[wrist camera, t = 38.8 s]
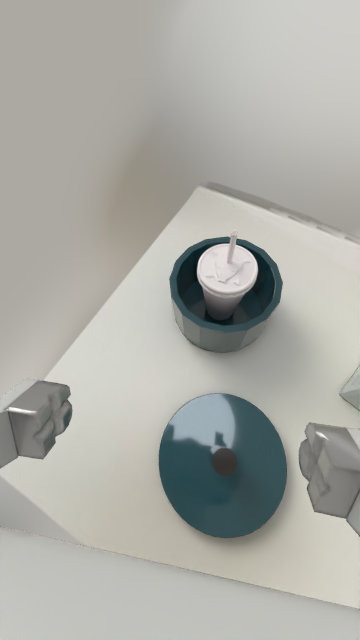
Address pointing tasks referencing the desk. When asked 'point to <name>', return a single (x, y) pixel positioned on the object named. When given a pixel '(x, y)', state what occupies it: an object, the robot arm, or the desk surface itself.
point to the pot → (246, 315)
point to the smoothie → (226, 277)
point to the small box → (353, 390)
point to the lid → (222, 465)
